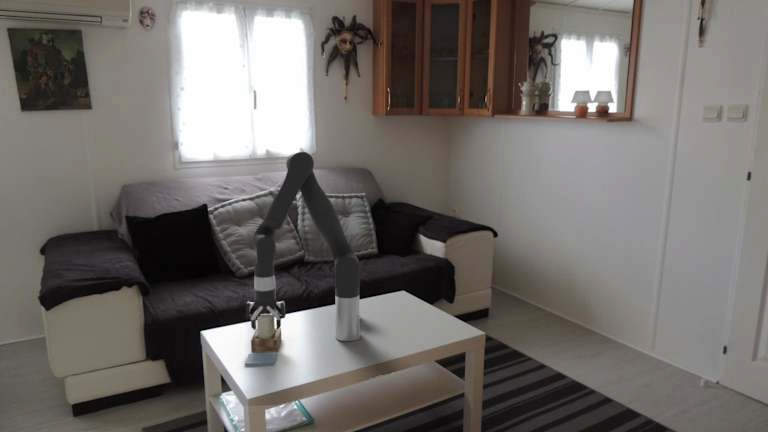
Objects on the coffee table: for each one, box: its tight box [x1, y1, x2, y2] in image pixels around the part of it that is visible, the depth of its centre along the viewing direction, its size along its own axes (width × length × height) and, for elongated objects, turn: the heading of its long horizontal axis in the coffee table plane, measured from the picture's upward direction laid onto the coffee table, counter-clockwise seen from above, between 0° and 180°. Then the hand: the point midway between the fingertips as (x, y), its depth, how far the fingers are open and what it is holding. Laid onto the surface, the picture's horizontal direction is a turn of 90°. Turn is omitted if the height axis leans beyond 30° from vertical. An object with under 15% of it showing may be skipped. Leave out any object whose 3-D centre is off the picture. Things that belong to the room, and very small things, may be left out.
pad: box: [244, 352, 278, 367], centre depth 196 cm, size 10×8×1 cm
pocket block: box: [250, 327, 282, 353], centre depth 209 cm, size 9×11×4 cm
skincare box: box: [256, 313, 276, 339], centre depth 208 cm, size 6×4×12 cm
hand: (266, 328), depth 208 cm, fingers open, 8 cm apart
